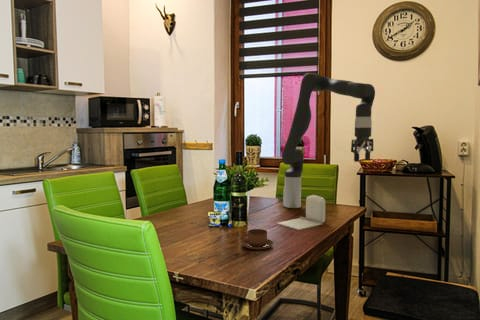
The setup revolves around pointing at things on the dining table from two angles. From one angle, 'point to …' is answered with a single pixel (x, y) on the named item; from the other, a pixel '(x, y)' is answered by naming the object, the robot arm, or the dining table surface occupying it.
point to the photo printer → (315, 208)
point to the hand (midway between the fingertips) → (362, 161)
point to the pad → (300, 223)
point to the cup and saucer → (256, 239)
